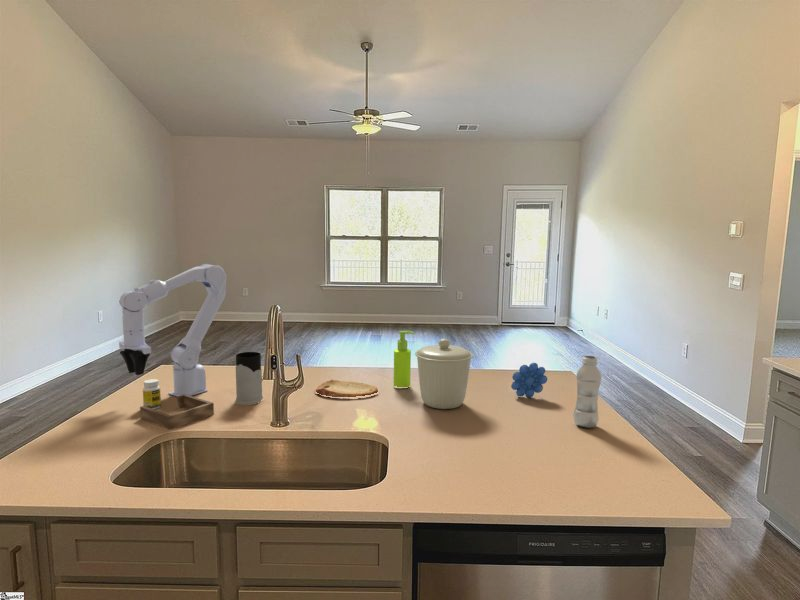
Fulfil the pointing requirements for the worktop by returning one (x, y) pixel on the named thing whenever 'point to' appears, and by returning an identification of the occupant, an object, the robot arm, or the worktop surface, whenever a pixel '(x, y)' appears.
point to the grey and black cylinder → (248, 378)
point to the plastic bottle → (587, 393)
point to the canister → (443, 374)
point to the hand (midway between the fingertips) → (136, 373)
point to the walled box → (171, 421)
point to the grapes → (529, 380)
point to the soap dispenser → (402, 362)
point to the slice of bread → (345, 389)
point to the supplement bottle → (152, 393)
